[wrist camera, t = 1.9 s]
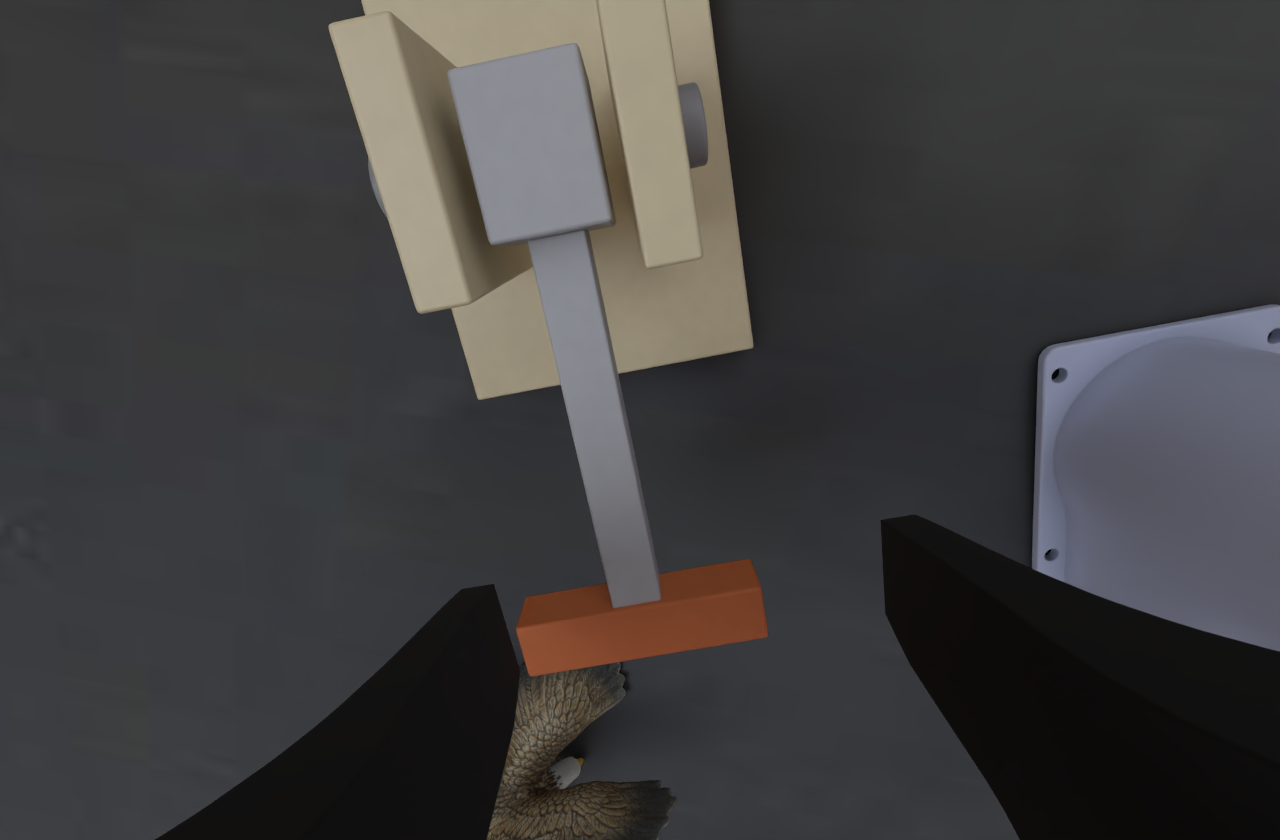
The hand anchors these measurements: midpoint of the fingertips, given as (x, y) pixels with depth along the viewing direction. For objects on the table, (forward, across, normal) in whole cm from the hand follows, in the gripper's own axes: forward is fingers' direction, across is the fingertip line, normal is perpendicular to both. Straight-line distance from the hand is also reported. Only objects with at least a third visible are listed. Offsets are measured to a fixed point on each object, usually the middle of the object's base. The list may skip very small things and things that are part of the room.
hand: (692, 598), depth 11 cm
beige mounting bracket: (+10, +1, -8) cm, 13 cm away
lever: (+4, +1, -3) cm, 5 cm away
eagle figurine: (+11, +7, +13) cm, 18 cm away
